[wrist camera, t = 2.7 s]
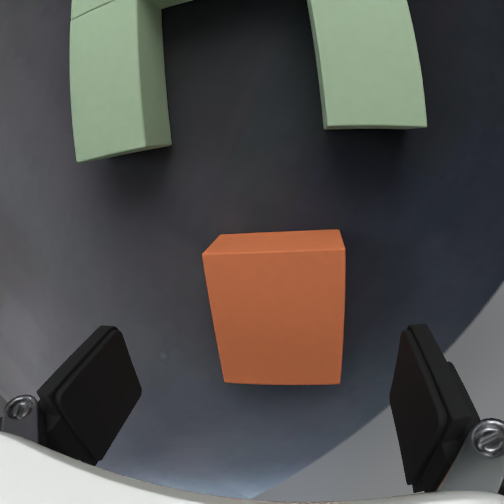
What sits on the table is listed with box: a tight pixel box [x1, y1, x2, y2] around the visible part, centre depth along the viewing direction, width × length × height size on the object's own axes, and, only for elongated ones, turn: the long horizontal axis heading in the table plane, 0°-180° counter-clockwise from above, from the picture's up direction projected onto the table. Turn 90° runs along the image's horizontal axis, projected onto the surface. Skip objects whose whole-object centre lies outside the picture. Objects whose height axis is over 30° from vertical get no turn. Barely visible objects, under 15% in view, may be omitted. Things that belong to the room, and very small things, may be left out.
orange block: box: [202, 229, 346, 385], centre depth 13 cm, size 5×6×2 cm
